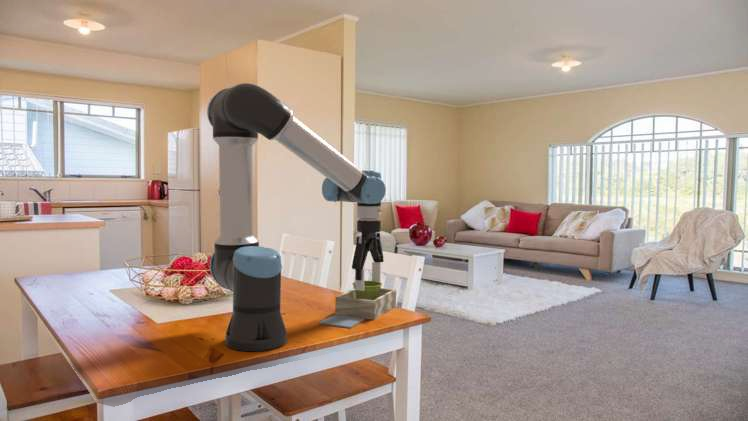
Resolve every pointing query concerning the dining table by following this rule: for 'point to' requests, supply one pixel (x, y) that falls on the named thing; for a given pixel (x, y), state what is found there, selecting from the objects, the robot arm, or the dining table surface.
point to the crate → (365, 304)
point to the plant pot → (369, 290)
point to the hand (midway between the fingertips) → (368, 286)
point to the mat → (342, 321)
